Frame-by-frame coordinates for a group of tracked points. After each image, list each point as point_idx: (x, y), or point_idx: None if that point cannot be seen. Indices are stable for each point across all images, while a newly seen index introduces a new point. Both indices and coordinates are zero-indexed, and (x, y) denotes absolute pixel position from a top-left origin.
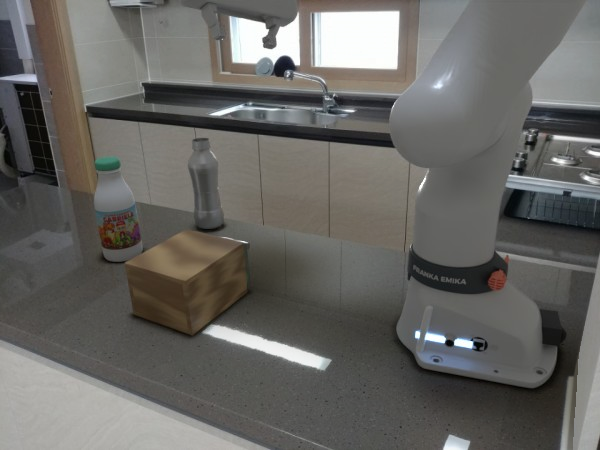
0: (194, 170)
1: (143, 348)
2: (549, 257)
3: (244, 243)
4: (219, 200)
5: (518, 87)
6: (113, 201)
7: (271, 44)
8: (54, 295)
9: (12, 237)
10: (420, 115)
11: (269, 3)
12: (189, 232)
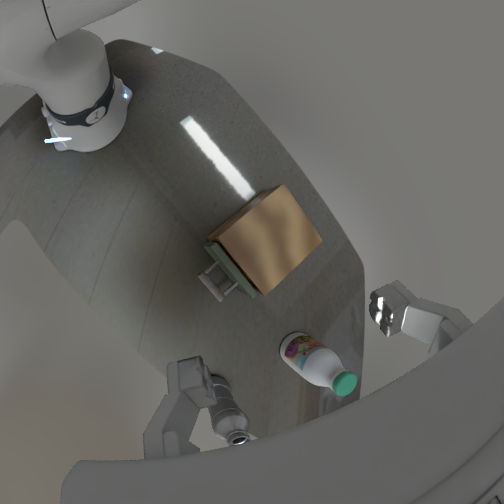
0: (243, 412)
1: (294, 192)
2: None
3: (213, 246)
4: None
5: None
6: (327, 353)
7: (189, 358)
8: (341, 291)
9: (357, 389)
10: None
11: (209, 497)
12: (263, 286)
